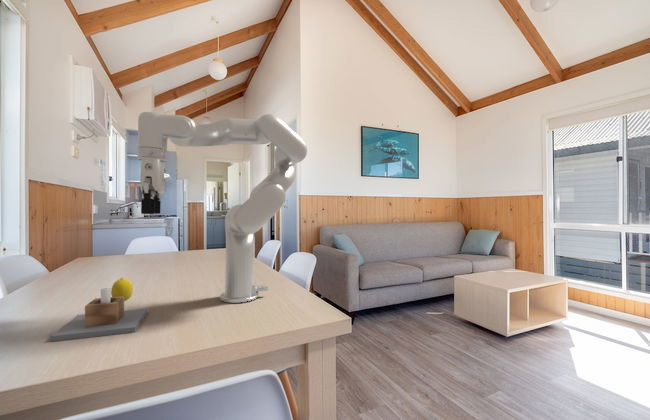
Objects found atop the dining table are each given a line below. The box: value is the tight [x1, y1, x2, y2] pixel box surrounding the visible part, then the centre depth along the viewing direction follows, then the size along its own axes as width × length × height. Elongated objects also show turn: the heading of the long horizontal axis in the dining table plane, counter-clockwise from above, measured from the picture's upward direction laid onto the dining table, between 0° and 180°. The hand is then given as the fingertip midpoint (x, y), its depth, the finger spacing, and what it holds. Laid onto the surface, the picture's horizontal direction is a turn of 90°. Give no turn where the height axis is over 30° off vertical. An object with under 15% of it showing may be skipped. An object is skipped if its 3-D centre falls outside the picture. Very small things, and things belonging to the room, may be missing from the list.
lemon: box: [111, 277, 134, 303], centre depth 91 cm, size 6×6×8 cm
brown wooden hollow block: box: [84, 296, 125, 327], centre depth 74 cm, size 6×6×5 cm
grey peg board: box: [50, 287, 148, 342], centre depth 74 cm, size 16×14×9 cm
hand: (151, 213), depth 86 cm, fingers open, 9 cm apart
